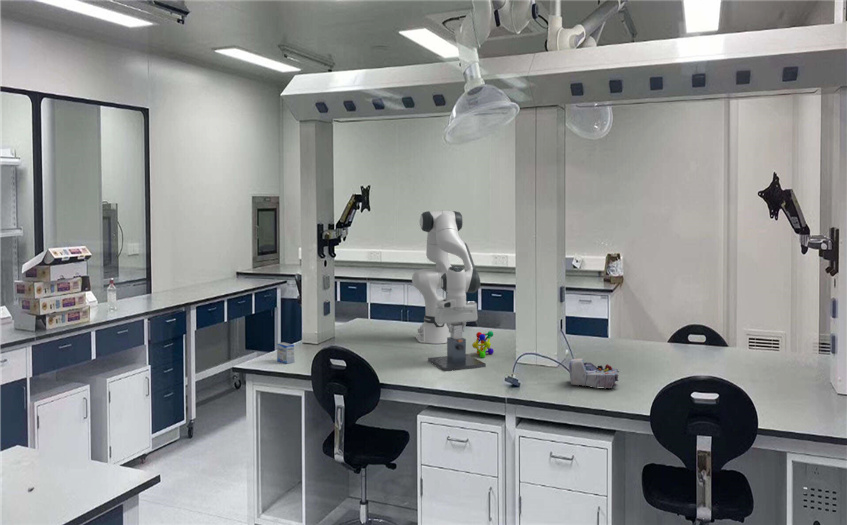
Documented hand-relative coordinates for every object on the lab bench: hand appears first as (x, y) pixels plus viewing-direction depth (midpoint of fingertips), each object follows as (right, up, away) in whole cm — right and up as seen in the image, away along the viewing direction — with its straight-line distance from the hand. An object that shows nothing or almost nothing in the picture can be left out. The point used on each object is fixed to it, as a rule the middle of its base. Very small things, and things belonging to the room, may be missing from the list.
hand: (456, 332), depth 303 cm
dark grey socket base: (0, -15, +1) cm, 15 cm away
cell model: (+54, -18, -33) cm, 66 cm away
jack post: (0, -13, +1) cm, 13 cm away
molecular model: (+14, -13, +18) cm, 26 cm away
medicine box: (-79, -15, +6) cm, 81 cm away
